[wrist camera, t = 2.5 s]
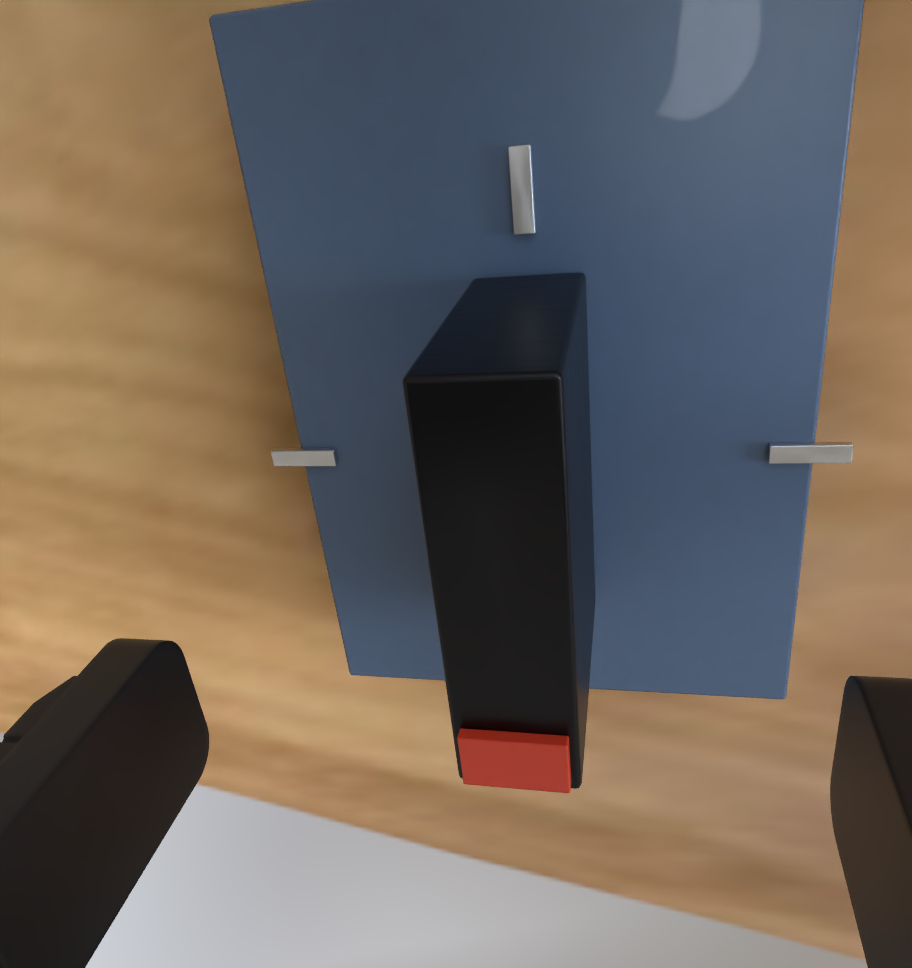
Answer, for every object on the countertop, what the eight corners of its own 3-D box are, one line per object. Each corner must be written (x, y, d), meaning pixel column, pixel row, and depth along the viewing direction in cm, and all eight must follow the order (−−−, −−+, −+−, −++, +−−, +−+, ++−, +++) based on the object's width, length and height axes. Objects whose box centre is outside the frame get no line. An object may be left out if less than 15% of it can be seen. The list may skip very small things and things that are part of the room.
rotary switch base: (249, 24, 16) (168, 19, 13) (867, -63, 13) (927, -92, 10) (362, 601, 22) (324, 679, 19) (792, 616, 20) (817, 708, 17)
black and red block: (472, 277, 14) (393, 385, 10) (586, 271, 14) (561, 379, 9) (502, 599, 17) (455, 792, 13) (595, 602, 17) (580, 804, 12)
